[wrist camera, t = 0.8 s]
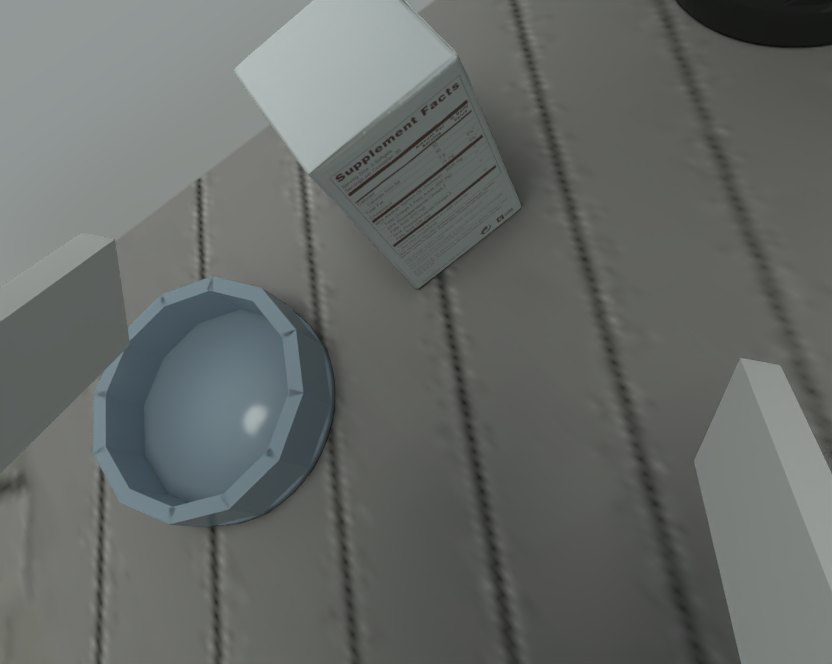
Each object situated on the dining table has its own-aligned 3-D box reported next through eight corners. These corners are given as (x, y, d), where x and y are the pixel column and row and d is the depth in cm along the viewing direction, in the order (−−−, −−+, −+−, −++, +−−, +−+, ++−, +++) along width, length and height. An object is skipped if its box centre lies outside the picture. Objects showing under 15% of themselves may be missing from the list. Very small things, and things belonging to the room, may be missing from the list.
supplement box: (352, 206, 40) (226, 65, 29) (452, 126, 39) (364, -51, 28) (416, 296, 37) (303, 177, 25) (527, 210, 36) (462, 49, 25)
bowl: (254, 259, 41) (219, 234, 38) (380, 408, 35) (350, 392, 32) (106, 407, 41) (58, 394, 38) (205, 578, 36) (160, 579, 32)
